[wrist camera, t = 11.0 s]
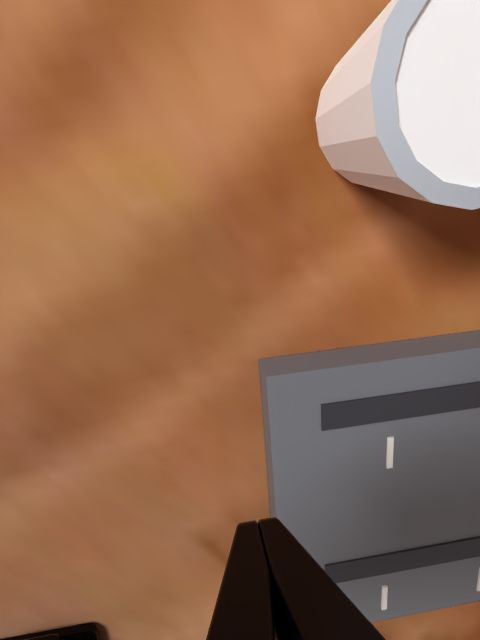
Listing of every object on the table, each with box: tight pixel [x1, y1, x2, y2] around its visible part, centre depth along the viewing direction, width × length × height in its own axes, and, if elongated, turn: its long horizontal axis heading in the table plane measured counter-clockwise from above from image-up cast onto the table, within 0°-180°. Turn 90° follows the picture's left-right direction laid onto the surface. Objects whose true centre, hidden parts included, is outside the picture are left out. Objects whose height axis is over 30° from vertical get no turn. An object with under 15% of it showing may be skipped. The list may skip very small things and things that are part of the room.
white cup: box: [315, 0, 480, 210], centre depth 15 cm, size 7×7×7 cm
